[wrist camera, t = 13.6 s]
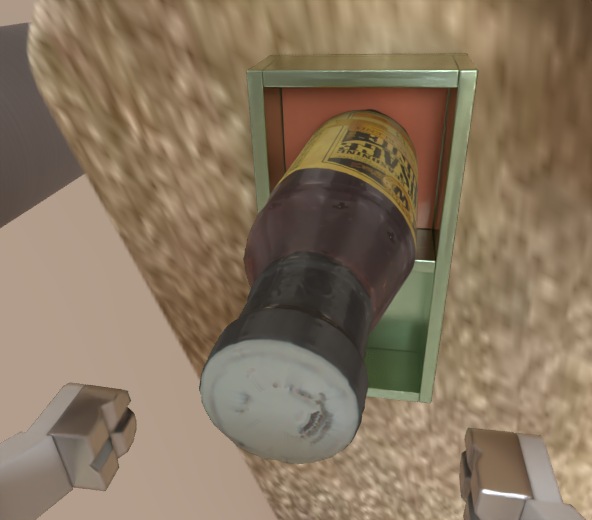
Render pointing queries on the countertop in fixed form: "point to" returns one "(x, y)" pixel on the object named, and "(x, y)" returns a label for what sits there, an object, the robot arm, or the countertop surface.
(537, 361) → the countertop surface
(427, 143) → the green shallow open box
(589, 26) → the countertop surface
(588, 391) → the countertop surface
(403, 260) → the sauce bottle
